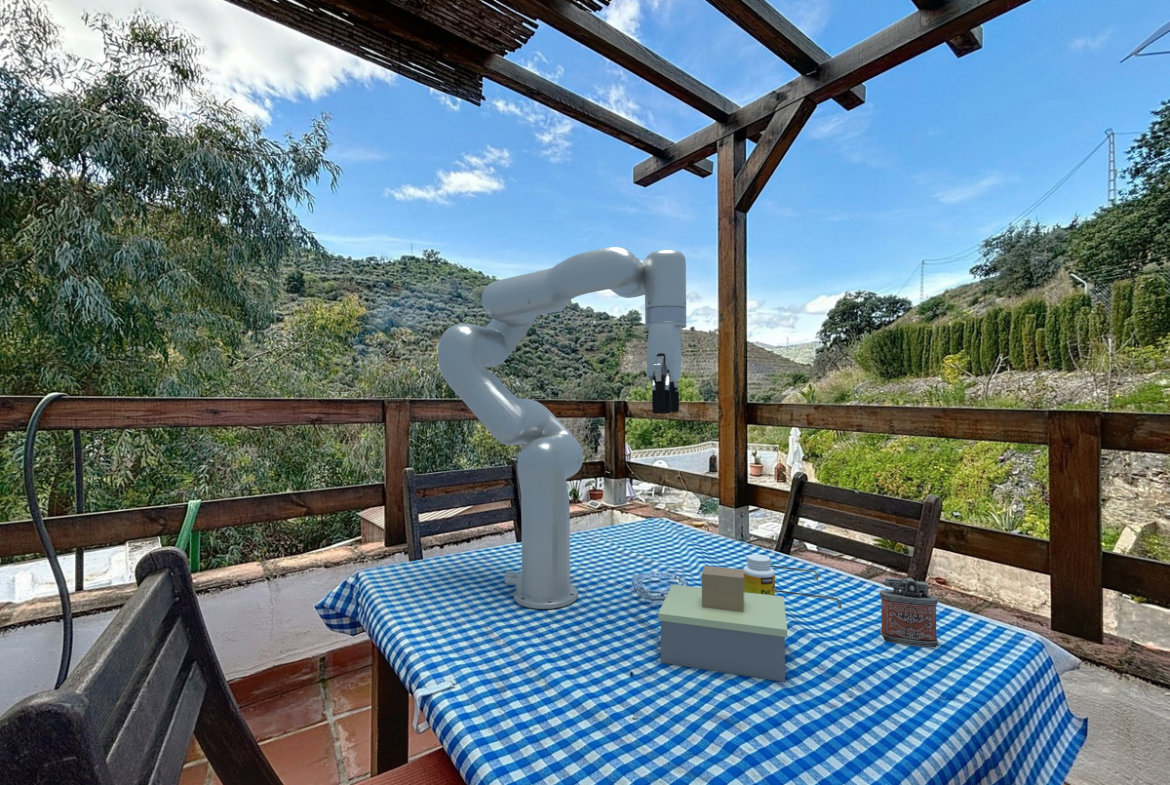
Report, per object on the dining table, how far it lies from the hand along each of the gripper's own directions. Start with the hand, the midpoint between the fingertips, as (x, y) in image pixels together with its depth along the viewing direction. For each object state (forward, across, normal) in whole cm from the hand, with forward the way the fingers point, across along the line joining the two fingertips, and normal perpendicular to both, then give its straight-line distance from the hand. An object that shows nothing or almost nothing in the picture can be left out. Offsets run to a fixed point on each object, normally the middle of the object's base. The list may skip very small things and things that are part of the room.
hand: (666, 412), depth 97 cm
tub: (+37, +14, +11) cm, 41 cm away
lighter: (+37, -1, +39) cm, 54 cm away
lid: (+31, +14, +11) cm, 36 cm away
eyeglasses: (+38, -19, +22) cm, 47 cm away
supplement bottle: (+37, -5, +16) cm, 41 cm away
